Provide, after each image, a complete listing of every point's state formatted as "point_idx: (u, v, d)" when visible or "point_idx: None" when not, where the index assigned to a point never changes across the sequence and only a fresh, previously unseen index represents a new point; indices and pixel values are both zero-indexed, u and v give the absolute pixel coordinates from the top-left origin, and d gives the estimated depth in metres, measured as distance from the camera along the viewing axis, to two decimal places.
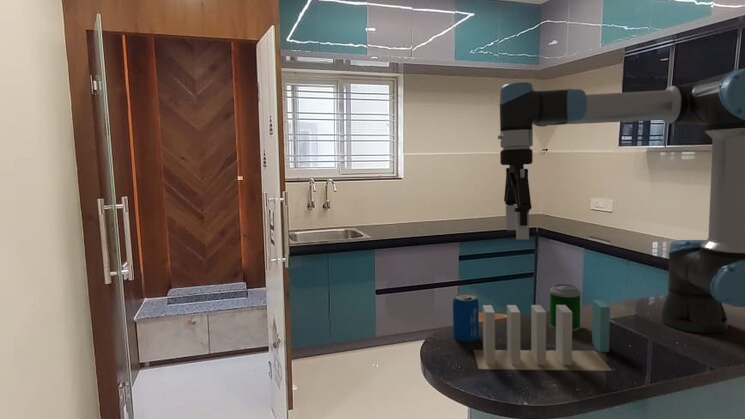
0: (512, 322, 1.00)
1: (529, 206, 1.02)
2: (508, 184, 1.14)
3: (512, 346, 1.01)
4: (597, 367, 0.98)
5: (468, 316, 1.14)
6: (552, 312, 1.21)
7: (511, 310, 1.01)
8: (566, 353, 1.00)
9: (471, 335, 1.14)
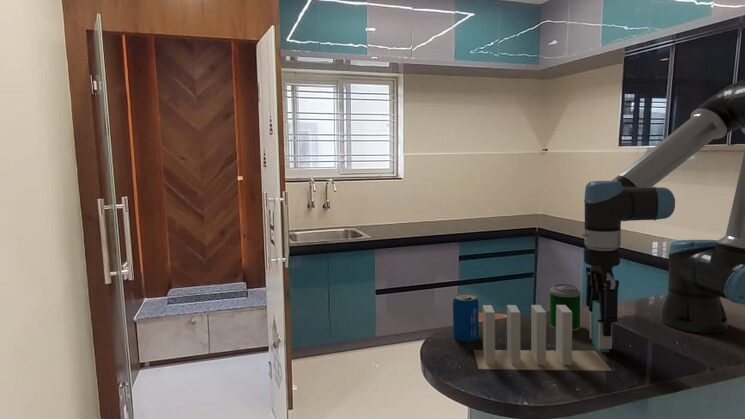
0: (512, 322, 1.00)
1: (615, 320, 1.01)
2: (592, 284, 1.08)
3: (512, 346, 1.01)
4: (597, 367, 0.98)
5: (468, 316, 1.14)
6: (552, 312, 1.21)
7: (511, 310, 1.01)
8: (566, 353, 1.00)
9: (471, 335, 1.14)
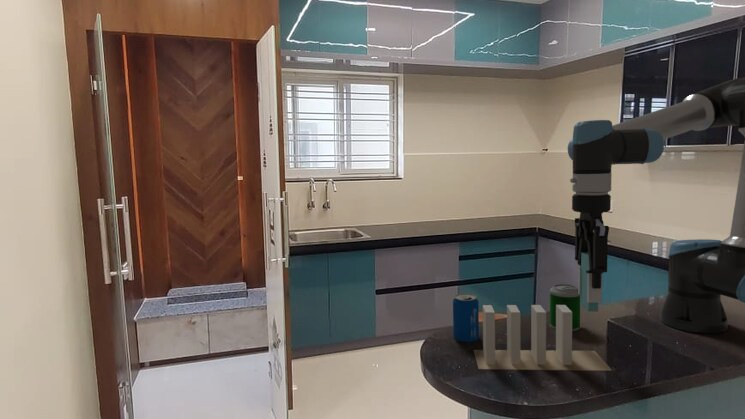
0: (512, 322, 1.00)
1: (605, 270, 0.93)
2: (581, 234, 1.00)
3: (512, 346, 1.01)
4: (597, 367, 0.98)
5: (468, 316, 1.14)
6: (552, 312, 1.21)
7: (511, 310, 1.01)
8: (566, 353, 1.00)
9: (471, 335, 1.14)
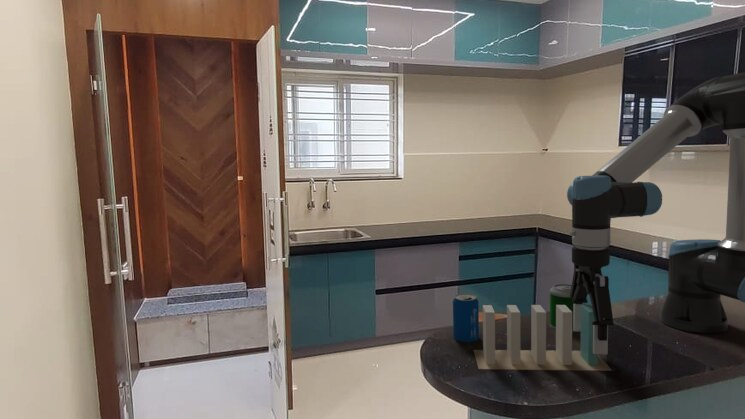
0: (512, 322, 1.00)
1: (611, 322, 0.91)
2: (579, 283, 1.03)
3: (512, 346, 1.01)
4: (597, 367, 0.98)
5: (468, 316, 1.14)
6: (552, 312, 1.21)
7: (511, 310, 1.01)
8: (566, 353, 1.00)
9: (471, 335, 1.14)
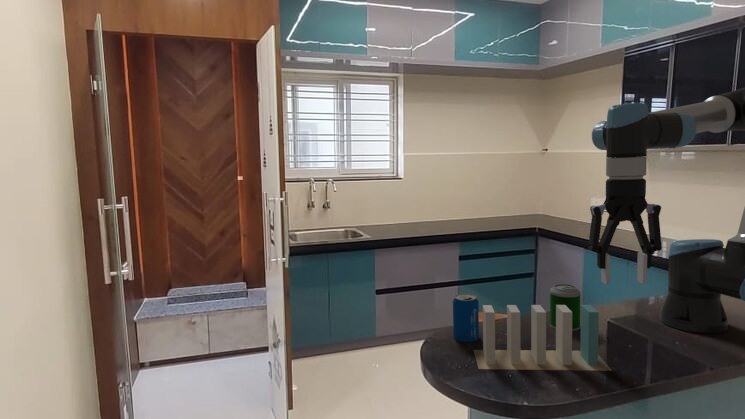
0: (512, 322, 1.00)
1: (591, 249, 0.98)
2: None
3: (512, 346, 1.01)
4: (597, 367, 0.98)
5: (468, 316, 1.14)
6: (552, 312, 1.21)
7: (511, 310, 1.01)
8: (566, 353, 1.00)
9: (471, 335, 1.14)
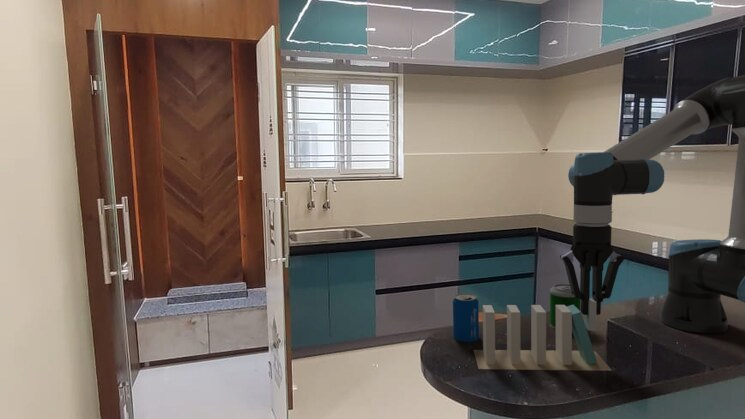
0: (512, 322, 1.00)
1: None
2: None
3: (512, 346, 1.01)
4: (597, 367, 0.98)
5: (468, 316, 1.14)
6: (552, 312, 1.21)
7: (511, 310, 1.01)
8: (566, 353, 1.00)
9: (471, 335, 1.14)
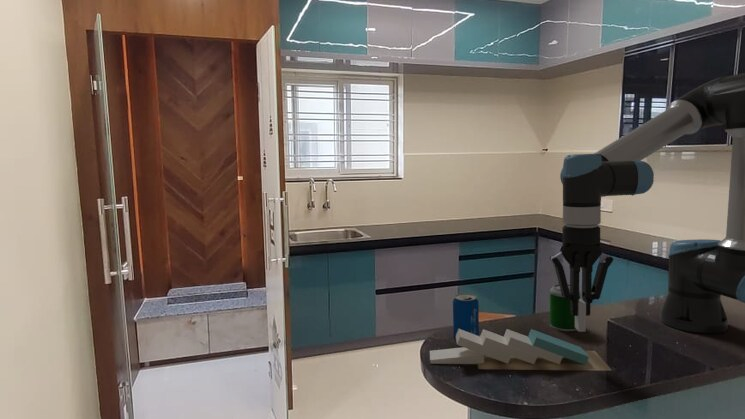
0: (467, 347, 1.02)
1: (564, 297, 1.00)
2: None
3: (490, 356, 1.02)
4: (597, 367, 0.98)
5: (468, 316, 1.14)
6: (552, 312, 1.21)
7: (457, 341, 1.04)
8: (549, 356, 1.00)
9: None
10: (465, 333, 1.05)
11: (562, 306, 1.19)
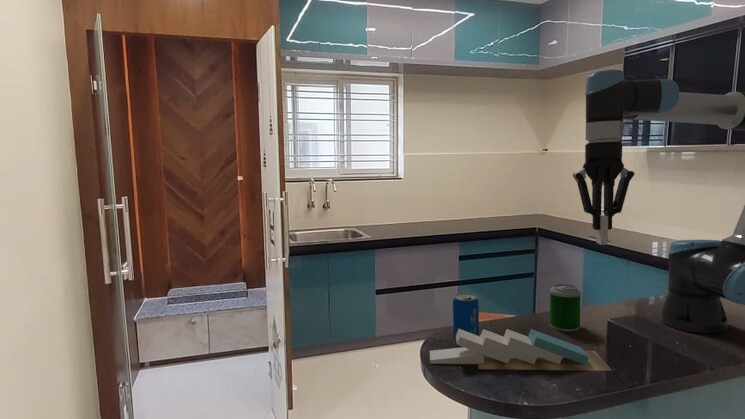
0: (467, 347, 1.02)
1: (587, 211, 1.04)
2: None
3: (490, 356, 1.02)
4: (597, 367, 0.98)
5: (468, 316, 1.14)
6: (552, 312, 1.21)
7: (457, 341, 1.04)
8: (549, 356, 1.00)
9: None
10: (465, 333, 1.05)
11: (562, 306, 1.19)
